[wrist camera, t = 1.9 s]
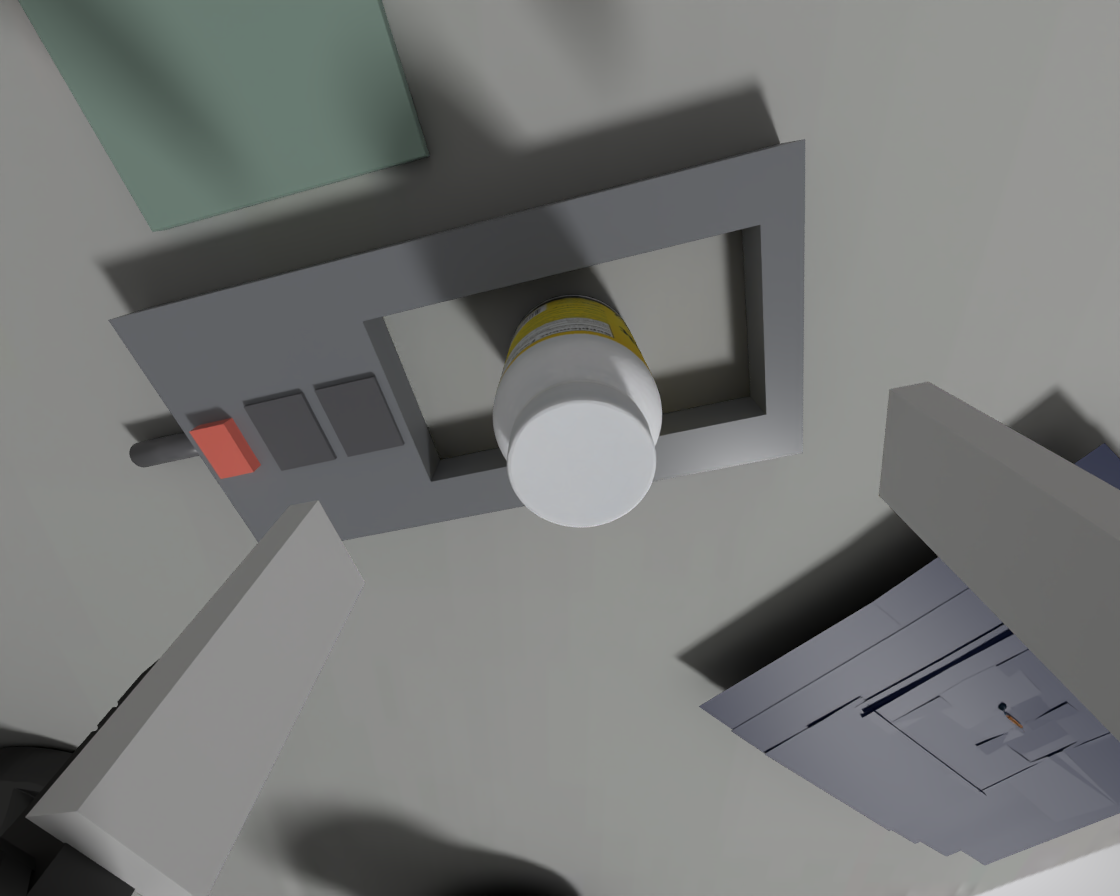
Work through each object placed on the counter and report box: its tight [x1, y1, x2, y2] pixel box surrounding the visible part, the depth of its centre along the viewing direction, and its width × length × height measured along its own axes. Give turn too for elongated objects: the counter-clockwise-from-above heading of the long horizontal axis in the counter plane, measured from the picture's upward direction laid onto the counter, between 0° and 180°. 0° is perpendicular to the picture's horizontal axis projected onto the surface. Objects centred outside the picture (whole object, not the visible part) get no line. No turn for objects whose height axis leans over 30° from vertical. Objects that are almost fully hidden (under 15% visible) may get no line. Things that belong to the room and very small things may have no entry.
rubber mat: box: [18, 0, 430, 232], centre depth 16 cm, size 11×11×1 cm
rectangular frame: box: [109, 139, 805, 542], centre depth 21 cm, size 30×12×3 cm, turn 103°
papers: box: [699, 443, 1120, 865], centre depth 30 cm, size 24×30×4 cm
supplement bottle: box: [493, 295, 662, 527], centre depth 17 cm, size 5×5×10 cm
